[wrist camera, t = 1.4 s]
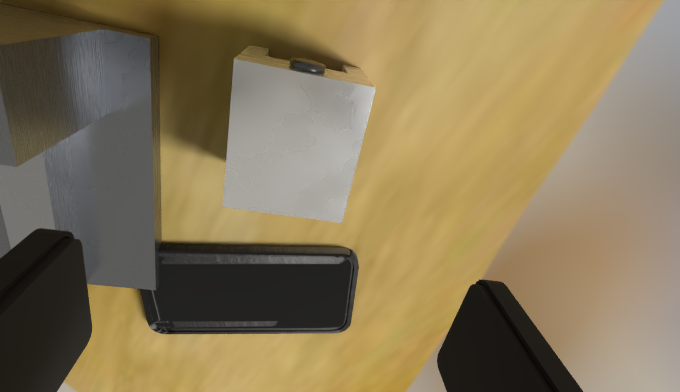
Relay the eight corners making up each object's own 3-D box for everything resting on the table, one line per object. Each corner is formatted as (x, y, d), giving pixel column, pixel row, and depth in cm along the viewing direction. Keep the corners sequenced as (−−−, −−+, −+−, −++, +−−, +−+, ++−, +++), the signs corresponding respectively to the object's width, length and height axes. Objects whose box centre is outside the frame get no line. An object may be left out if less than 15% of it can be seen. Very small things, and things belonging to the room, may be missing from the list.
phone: (131, 249, 24) (360, 254, 25) (138, 239, 24) (358, 245, 26) (150, 335, 27) (349, 334, 29) (155, 323, 28) (347, 323, 30)
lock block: (238, 165, 22) (222, 207, 18) (250, 38, 19) (234, 50, 15) (334, 180, 23) (341, 222, 19) (361, 62, 20) (378, 80, 16)
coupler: (-99, -18, 17) (-452, -31, 9) (158, 36, 18) (53, 63, 11) (-17, 260, 24) (-172, 386, 16) (161, 278, 26) (100, 398, 18)
